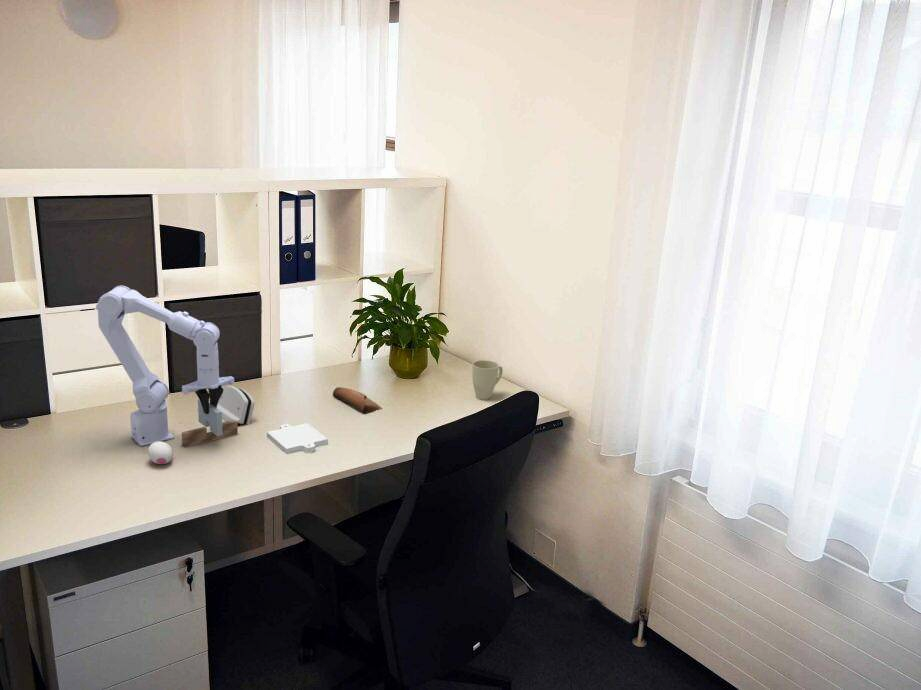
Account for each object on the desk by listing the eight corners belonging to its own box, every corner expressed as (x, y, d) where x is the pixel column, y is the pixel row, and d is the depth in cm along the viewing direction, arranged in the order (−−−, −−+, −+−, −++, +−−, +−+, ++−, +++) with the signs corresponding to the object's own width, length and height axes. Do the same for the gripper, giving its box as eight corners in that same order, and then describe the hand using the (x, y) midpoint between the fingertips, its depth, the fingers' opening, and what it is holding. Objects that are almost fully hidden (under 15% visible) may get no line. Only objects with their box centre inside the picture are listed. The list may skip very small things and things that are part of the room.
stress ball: (173, 476, 208) (187, 454, 208) (148, 468, 202) (162, 445, 202) (162, 464, 213) (175, 443, 213) (137, 456, 207) (150, 434, 208)
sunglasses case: (384, 408, 253) (376, 394, 249) (369, 423, 250) (361, 408, 246) (353, 391, 265) (344, 377, 261) (337, 405, 262) (329, 391, 258)
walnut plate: (184, 447, 217) (183, 434, 216) (182, 445, 218) (181, 432, 217) (237, 433, 228) (237, 421, 226) (235, 432, 229) (235, 419, 227)
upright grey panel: (217, 436, 217) (216, 413, 215) (198, 421, 225) (197, 399, 223) (222, 434, 218) (221, 411, 216) (203, 420, 226) (202, 398, 224)
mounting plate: (332, 448, 224) (332, 442, 223) (290, 458, 216) (290, 452, 215) (303, 426, 237) (303, 420, 236) (263, 434, 229) (263, 428, 229)
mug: (497, 403, 263) (500, 370, 260) (468, 400, 265) (470, 367, 261) (500, 392, 274) (503, 360, 270) (473, 389, 275) (475, 357, 271)
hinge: (208, 409, 243) (218, 379, 242) (222, 411, 246) (231, 381, 246) (235, 427, 231) (245, 396, 231) (249, 429, 235) (258, 397, 234)
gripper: (188, 376, 209) (190, 422, 213) (238, 366, 218) (240, 411, 222) (177, 368, 214) (180, 414, 218) (227, 359, 223) (228, 403, 227)
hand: (209, 412), depth 220 cm, fingers closed on upright grey panel, 1 cm apart
